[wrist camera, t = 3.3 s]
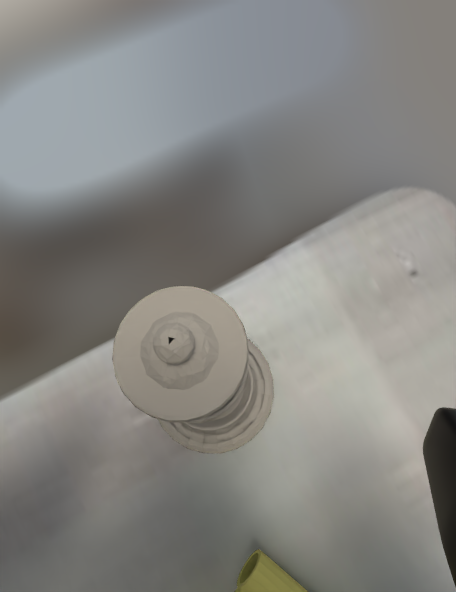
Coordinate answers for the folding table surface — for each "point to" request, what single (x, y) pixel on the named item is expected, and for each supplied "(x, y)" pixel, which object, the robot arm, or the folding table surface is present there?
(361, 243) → the folding table surface
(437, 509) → the robot arm
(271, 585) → the key
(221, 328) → the chess piece
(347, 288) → the folding table surface
